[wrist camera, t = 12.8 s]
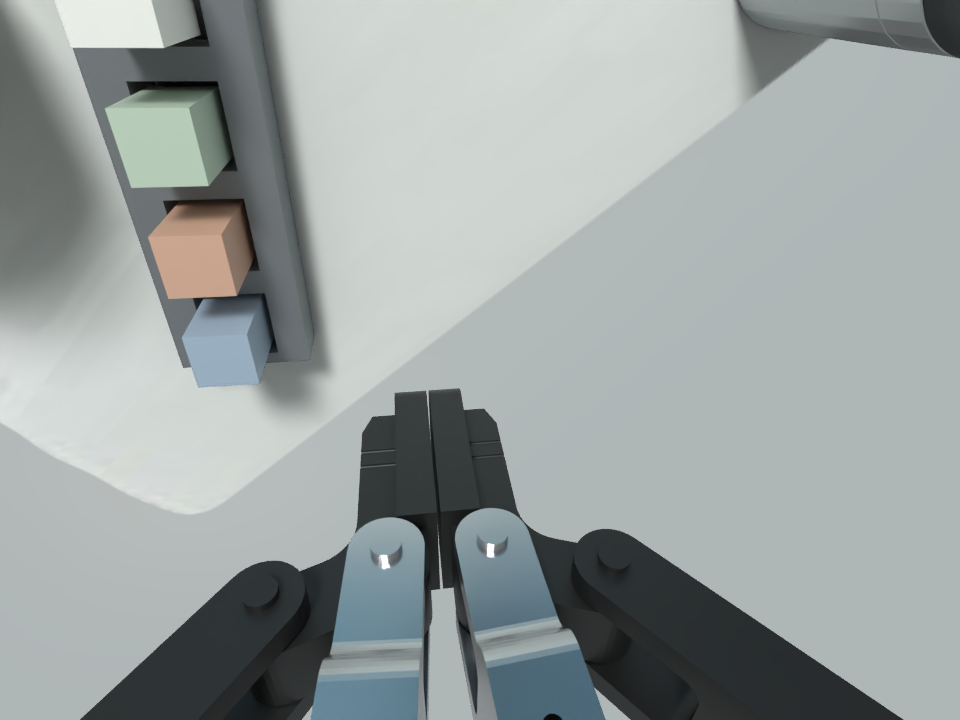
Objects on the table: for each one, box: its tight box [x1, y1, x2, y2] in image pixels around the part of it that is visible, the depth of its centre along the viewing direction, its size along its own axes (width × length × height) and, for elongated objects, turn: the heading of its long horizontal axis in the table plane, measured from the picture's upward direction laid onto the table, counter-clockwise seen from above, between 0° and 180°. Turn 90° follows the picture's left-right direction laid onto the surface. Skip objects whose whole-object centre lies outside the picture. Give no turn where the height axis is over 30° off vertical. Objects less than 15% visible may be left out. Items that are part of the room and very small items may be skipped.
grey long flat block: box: [73, 0, 314, 368], centre depth 41 cm, size 10×30×4 cm, turn 179°
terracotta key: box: [148, 199, 256, 299], centre depth 40 cm, size 4×4×7 cm
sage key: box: [105, 86, 234, 188], centre depth 36 cm, size 4×4×7 cm
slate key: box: [182, 293, 274, 388], centre depth 44 cm, size 4×4×7 cm
